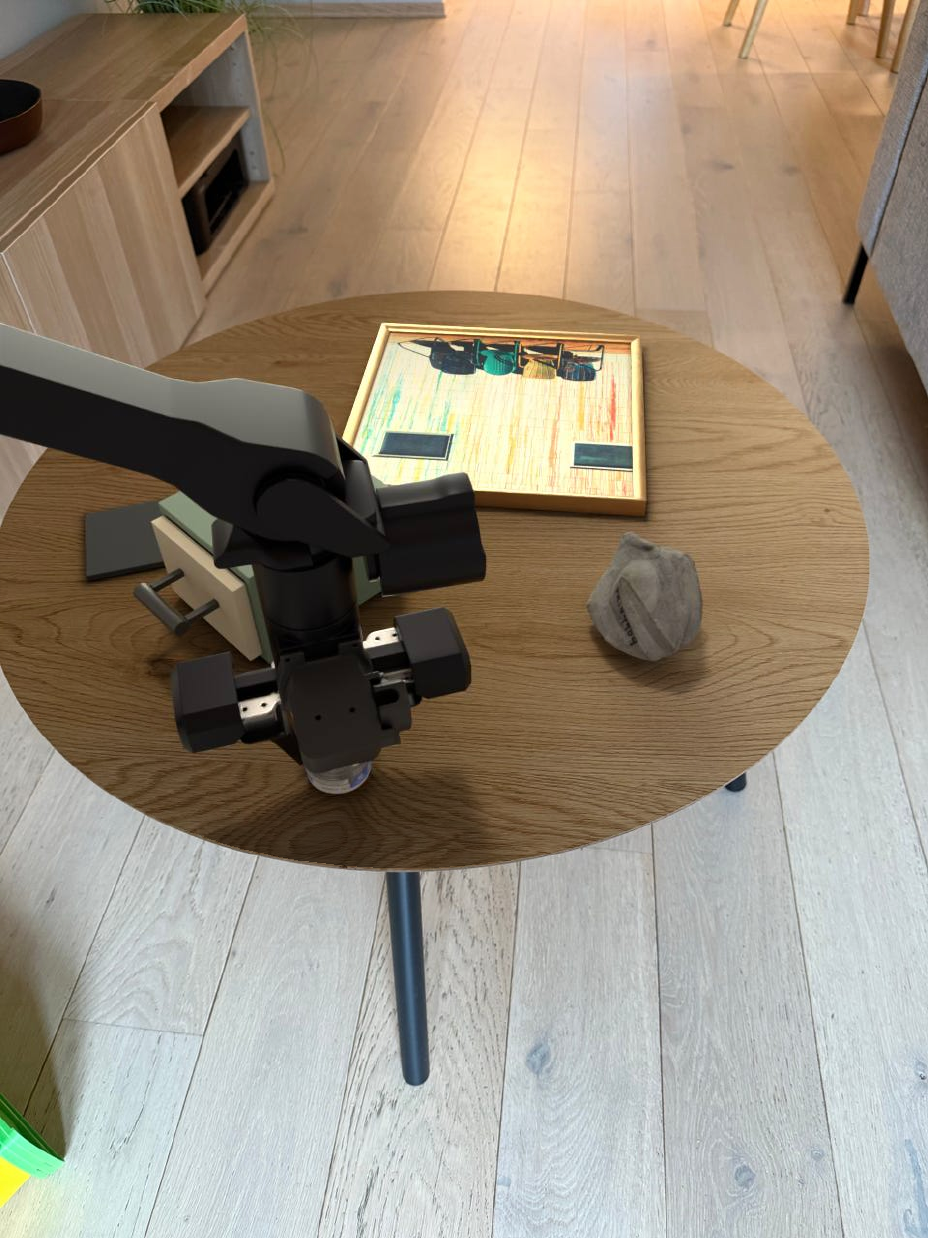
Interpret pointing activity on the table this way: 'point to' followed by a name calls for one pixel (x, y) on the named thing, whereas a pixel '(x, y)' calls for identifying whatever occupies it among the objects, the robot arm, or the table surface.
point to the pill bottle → (341, 778)
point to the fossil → (647, 599)
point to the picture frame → (507, 415)
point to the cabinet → (199, 528)
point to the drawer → (200, 591)
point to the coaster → (122, 541)
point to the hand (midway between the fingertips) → (336, 751)
